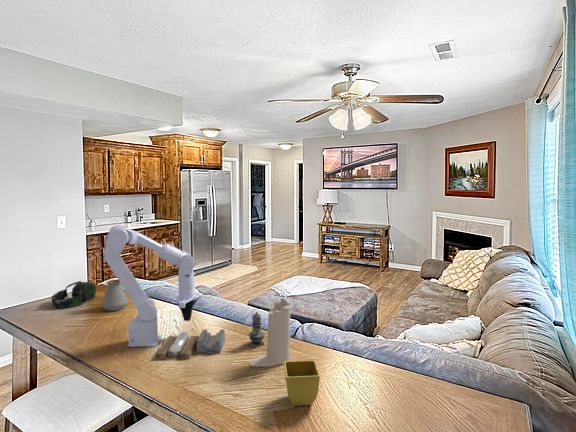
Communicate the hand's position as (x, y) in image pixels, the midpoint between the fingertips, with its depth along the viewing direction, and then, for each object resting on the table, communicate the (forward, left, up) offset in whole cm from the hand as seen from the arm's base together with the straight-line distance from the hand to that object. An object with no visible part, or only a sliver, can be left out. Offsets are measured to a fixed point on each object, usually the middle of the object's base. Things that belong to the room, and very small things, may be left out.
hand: (187, 320), depth 139 cm
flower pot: (+41, -43, -6) cm, 60 cm away
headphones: (-64, +40, -6) cm, 76 cm away
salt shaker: (+27, -8, -6) cm, 29 cm away
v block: (+11, -10, -6) cm, 16 cm away
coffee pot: (-39, +35, -6) cm, 53 cm away
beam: (0, -12, -6) cm, 13 cm away
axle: (0, -12, -4) cm, 13 cm away
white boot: (+32, -21, -6) cm, 39 cm away
